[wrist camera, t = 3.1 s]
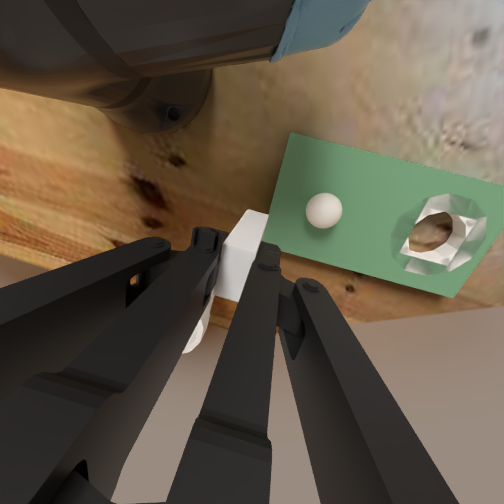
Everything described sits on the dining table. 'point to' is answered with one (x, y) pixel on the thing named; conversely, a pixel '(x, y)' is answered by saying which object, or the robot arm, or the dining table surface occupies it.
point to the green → (382, 214)
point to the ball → (324, 210)
